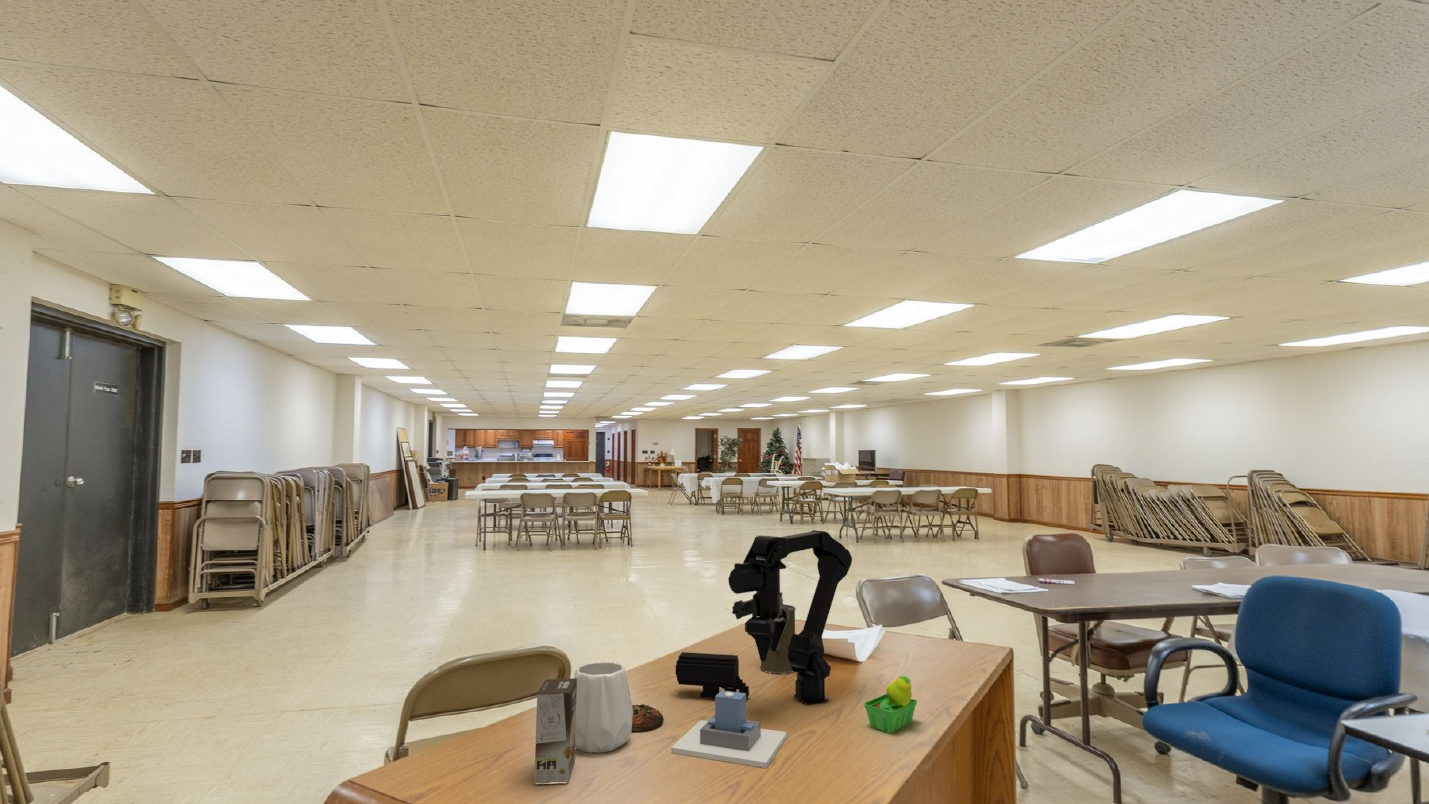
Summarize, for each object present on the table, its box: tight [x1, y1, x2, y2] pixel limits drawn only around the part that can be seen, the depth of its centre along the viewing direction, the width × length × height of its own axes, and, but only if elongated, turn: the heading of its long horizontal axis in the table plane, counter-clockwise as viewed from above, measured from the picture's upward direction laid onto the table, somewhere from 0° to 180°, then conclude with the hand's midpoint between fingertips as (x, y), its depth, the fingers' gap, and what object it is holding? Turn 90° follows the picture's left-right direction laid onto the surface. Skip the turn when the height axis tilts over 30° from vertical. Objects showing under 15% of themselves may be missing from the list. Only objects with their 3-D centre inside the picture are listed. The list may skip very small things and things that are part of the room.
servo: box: [707, 690, 754, 733], centre depth 138 cm, size 10×4×10 cm, turn 70°
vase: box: [573, 661, 633, 754], centre depth 139 cm, size 14×14×15 cm
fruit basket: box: [863, 675, 918, 734], centre depth 148 cm, size 11×9×11 cm
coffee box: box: [533, 677, 577, 784], centre depth 125 cm, size 9×6×16 cm
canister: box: [760, 596, 796, 675], centre depth 191 cm, size 11×10×20 cm
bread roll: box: [631, 703, 665, 733], centre depth 149 cm, size 11×11×5 cm
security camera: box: [675, 651, 750, 700], centre depth 167 cm, size 7×18×10 cm, turn 78°
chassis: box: [670, 715, 788, 769], centre depth 138 cm, size 20×16×4 cm
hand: (768, 656), depth 157 cm, fingers open, 9 cm apart
